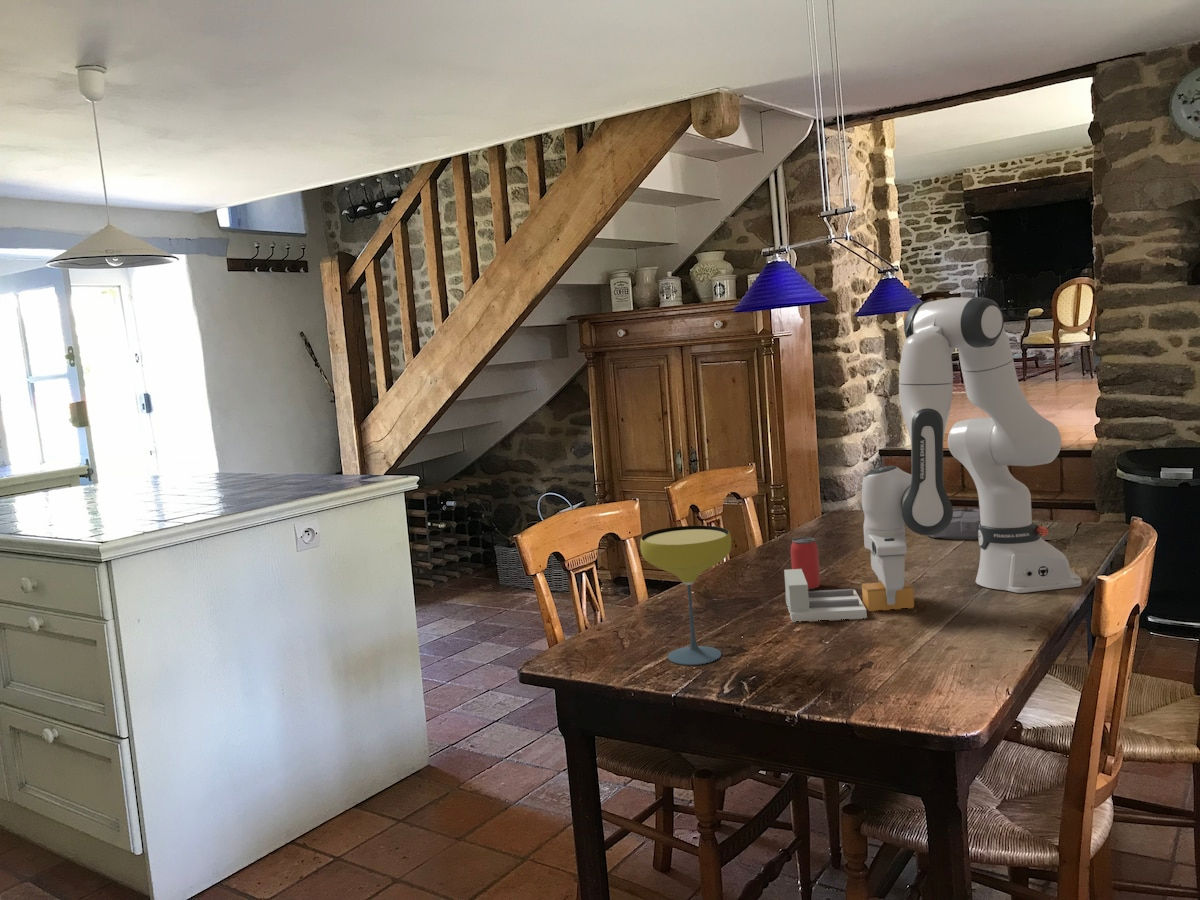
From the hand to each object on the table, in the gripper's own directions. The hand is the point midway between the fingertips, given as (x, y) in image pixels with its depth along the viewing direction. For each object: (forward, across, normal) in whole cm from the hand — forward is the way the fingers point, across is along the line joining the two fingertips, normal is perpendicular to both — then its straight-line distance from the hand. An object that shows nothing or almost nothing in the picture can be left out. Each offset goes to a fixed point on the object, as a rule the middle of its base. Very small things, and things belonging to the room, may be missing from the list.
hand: (887, 599), depth 211 cm
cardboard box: (+2, 0, 0) cm, 2 cm away
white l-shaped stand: (+2, 0, -14) cm, 14 cm away
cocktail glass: (+2, +27, -43) cm, 51 cm away
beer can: (+2, -20, -16) cm, 26 cm away
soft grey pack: (+2, -66, +32) cm, 74 cm away
